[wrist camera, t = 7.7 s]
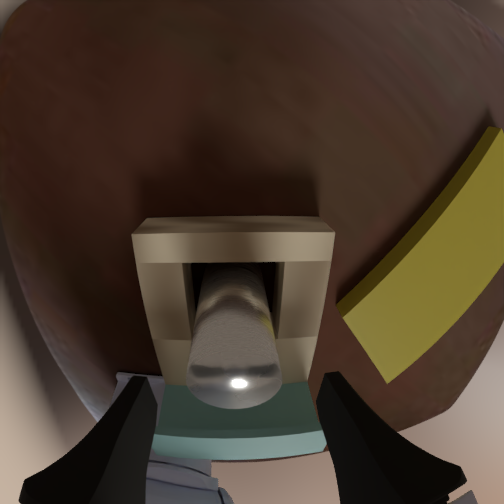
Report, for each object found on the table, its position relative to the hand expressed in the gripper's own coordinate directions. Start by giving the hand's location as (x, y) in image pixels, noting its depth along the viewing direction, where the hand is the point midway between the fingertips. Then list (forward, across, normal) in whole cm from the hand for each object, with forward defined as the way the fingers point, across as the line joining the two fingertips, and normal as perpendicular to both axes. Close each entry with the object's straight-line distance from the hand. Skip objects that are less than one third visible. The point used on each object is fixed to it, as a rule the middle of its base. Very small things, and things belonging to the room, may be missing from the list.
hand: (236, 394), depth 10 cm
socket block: (+10, 0, +2) cm, 10 cm away
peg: (+10, 0, 0) cm, 10 cm away
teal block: (+7, 0, +7) cm, 9 cm away
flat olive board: (+10, -19, -1) cm, 21 cm away
